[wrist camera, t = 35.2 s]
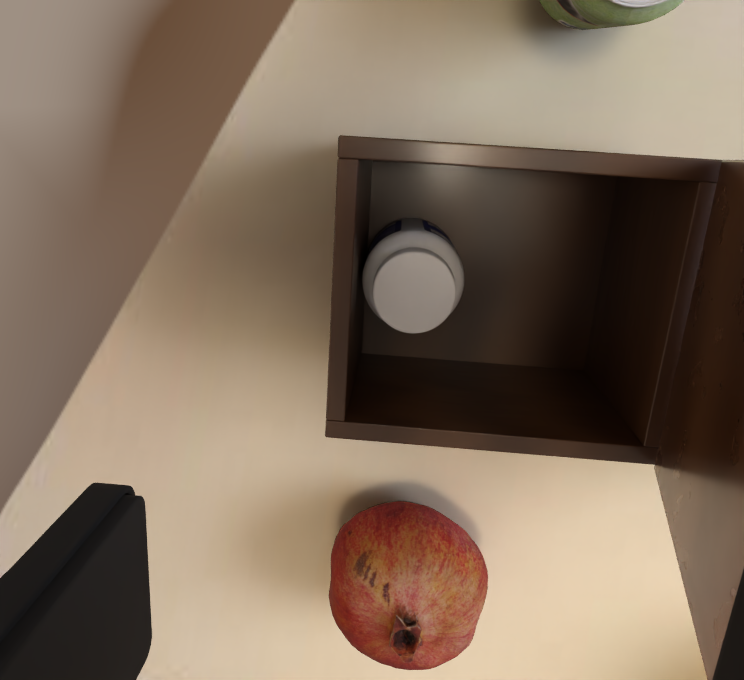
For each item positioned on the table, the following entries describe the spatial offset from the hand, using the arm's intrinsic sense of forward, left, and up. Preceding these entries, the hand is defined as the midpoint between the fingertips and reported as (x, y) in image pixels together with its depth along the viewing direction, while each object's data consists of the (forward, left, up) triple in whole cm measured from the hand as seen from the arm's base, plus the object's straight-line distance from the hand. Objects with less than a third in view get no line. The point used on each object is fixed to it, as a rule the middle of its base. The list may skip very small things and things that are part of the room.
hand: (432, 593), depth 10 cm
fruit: (+1, -20, -31) cm, 36 cm away
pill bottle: (0, 0, -30) cm, 30 cm away
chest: (+4, 0, -30) cm, 31 cm away
